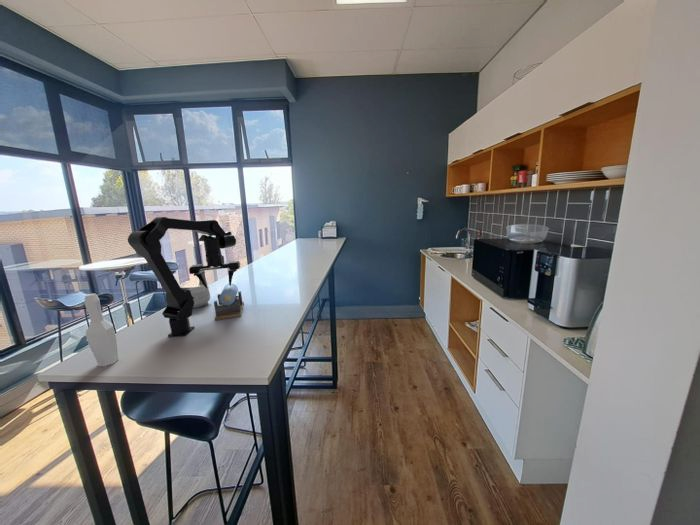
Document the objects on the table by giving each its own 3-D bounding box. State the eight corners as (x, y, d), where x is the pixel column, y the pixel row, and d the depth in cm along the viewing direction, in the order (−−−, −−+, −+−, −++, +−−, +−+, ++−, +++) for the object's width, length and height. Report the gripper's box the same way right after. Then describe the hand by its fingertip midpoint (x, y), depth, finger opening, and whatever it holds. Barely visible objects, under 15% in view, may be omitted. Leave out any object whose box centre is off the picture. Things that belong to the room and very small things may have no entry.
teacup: (203, 309, 124) (200, 292, 122) (180, 310, 125) (177, 293, 123) (218, 298, 138) (216, 283, 136) (197, 299, 138) (194, 284, 136)
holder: (240, 316, 114) (238, 300, 112) (214, 320, 111) (211, 304, 109) (243, 303, 129) (241, 289, 127) (220, 306, 126) (218, 292, 124)
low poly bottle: (125, 354, 88) (108, 289, 83) (117, 364, 83) (99, 296, 78) (100, 359, 86) (81, 293, 81) (91, 370, 80) (70, 300, 75)
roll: (234, 305, 114) (235, 292, 113) (218, 304, 112) (219, 290, 111) (237, 296, 125) (238, 283, 124) (223, 295, 123) (224, 282, 123)
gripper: (239, 245, 123) (243, 279, 126) (193, 249, 118) (199, 284, 122) (236, 249, 112) (241, 286, 116) (185, 254, 108) (192, 291, 111)
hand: (218, 286), depth 116 cm, fingers open, 9 cm apart
